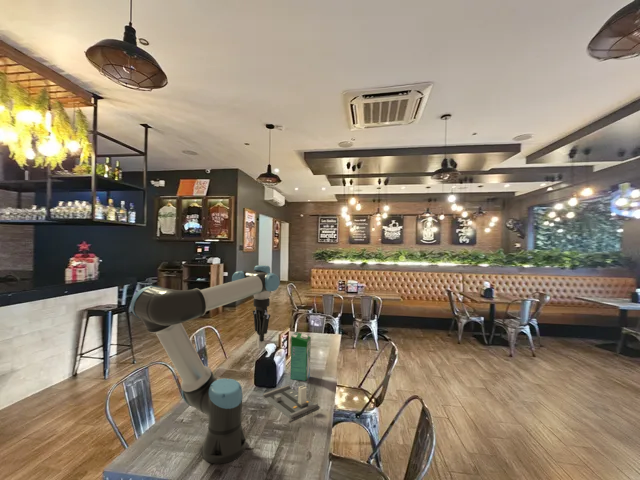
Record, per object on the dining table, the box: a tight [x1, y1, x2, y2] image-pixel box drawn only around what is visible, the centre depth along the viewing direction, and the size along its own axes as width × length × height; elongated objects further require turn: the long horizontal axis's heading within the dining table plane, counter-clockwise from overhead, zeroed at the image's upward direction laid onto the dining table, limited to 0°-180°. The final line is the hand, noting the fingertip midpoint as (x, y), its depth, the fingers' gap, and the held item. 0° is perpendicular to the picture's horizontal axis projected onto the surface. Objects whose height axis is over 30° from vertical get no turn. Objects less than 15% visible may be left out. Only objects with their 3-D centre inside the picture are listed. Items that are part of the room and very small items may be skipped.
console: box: [261, 384, 320, 423], centre depth 139 cm, size 16×24×4 cm, turn 41°
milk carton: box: [289, 331, 312, 382], centre depth 166 cm, size 9×9×25 cm
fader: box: [296, 385, 308, 408], centre depth 135 cm, size 4×5×8 cm
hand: (260, 347), depth 140 cm, fingers closed
